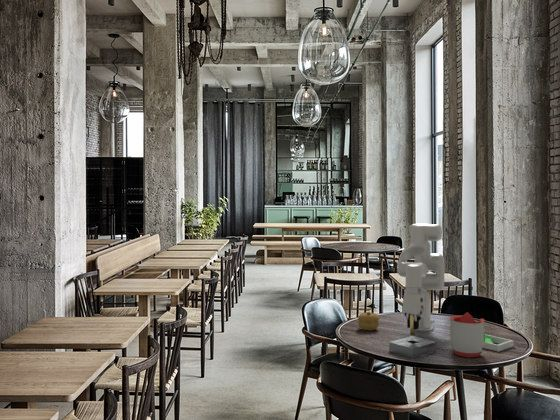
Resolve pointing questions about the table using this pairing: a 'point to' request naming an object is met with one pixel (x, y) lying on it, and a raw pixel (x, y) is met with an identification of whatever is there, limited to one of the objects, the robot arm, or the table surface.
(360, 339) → the table surface
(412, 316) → the brass pin
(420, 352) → the base block
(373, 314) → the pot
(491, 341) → the mechanical part
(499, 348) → the frame
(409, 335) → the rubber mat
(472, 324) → the citrus juicer
